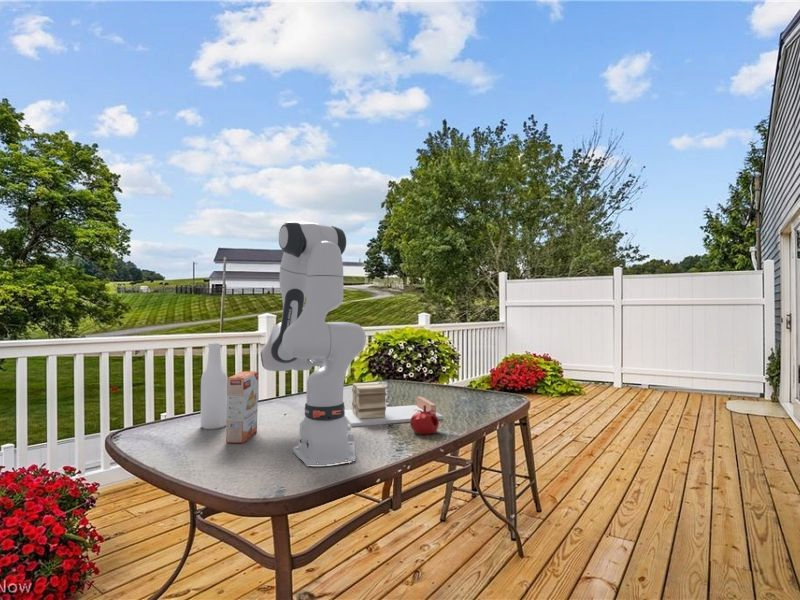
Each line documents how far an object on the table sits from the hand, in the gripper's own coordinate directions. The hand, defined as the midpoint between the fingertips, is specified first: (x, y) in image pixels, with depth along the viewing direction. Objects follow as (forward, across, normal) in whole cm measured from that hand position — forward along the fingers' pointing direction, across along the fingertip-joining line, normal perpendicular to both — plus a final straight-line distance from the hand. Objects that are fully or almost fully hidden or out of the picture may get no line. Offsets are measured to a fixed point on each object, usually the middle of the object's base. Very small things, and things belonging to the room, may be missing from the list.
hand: (343, 357), depth 174 cm
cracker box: (-36, -13, +24) cm, 45 cm away
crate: (+10, 0, +22) cm, 25 cm away
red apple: (+24, -24, +24) cm, 42 cm away
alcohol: (-46, +3, +24) cm, 52 cm away
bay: (+19, 0, +24) cm, 31 cm away
